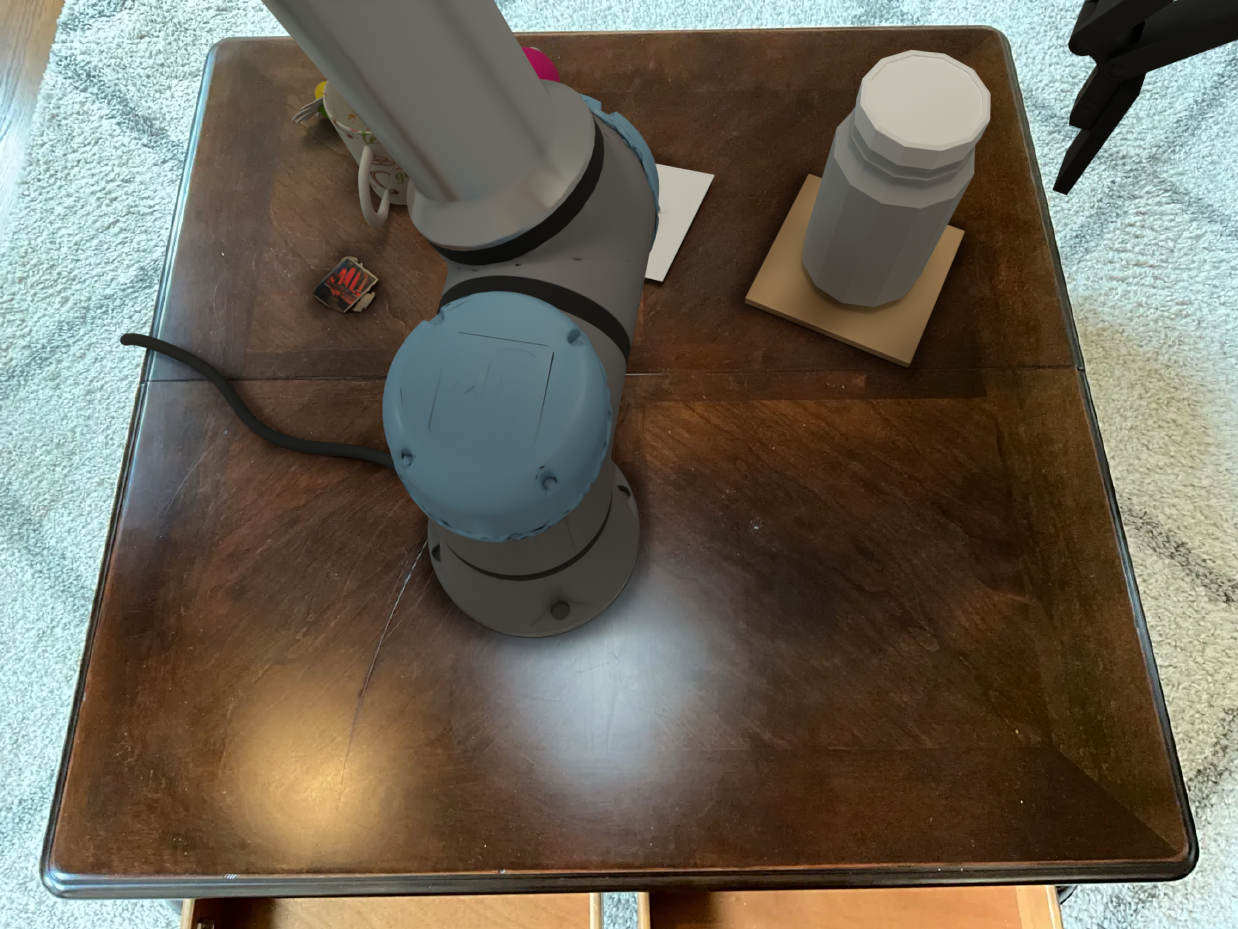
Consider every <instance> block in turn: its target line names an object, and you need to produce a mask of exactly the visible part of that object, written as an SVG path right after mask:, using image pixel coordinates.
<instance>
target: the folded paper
mask: <svg viewBox="0 0 1238 929" xmlns="http://www.w3.org/2000/svg"><path fill="white" fill-rule="evenodd" d="M655 164H656V167H657V171H658V177H659V200H658V201H659V212H658V217H659V224H658V230H657V235H656V238H655V241H654V244H653V247H652V250H651V252H650V254H649V259H648V264H647V269H646V275H645V279H652V280H655V281H659V282H663V281H664V279H665V277H666V275H667V273H668V271H669V269H670V267H671V265H672V263H673V261H674V259H675V256H676V254H678V251H679V248H680V246H681V244H682V242H683V240H684V239H685V237H686V235H687V233H688V230H689V228H690V226H691V225H692V223H693V220H694V218H695V217H696V214H697V212H698V210H699V208H700V206H701V204H702V202H703V200H704V198H705V196H706V194H707V192H708V190H709V187H710V186H711V184H712V181H713V179H714V177H715V174H711V173H706V172H701V171H697V170H691V169H685V168H680V167H675V166H669V165H665V164H659V163H655Z"/></svg>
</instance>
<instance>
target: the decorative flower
mask: <svg viewBox="0 0 1238 929" xmlns="http://www.w3.org/2000/svg"><path fill="white" fill-rule="evenodd" d="M326 82H327V80H325V81H324V80H323V81H321V82H320V83H318V84H317V85H316V88H315V90H314V97H315V100H313V101H312V102H309V103H307V104H305V105H304V106H302V107H301V108H300V109H299V110H300V111H299V112H297V113H296V114H295V115H294V116H293V117H292V118H291V122H295V123H296V125H298V124H300V123H301V122H303V121H304V122H307V121H309V120H311V118H314V117H316V119H320V118H322V117H324V118H326V119H327V120H328V121H329V120H330V118H329V117H328V115H327V113H326V110H325V107H324V103H323V91H324V87H325V84H326ZM330 121H331V120H330Z"/></svg>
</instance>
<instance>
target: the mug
mask: <svg viewBox="0 0 1238 929" xmlns="http://www.w3.org/2000/svg"><path fill="white" fill-rule="evenodd" d="M326 81H327V82H326V84H325V87H324V91H323V103H324V107H325V110H326V113H327V115H328V117H329V118H330V122H331V124H332V125H333V127H334V128H335V130H336V132H337V133H338V135H339V137H340V138H341V140H342V141H343V143H344V144H345V146H346V148H347V149H348V151H349V152H350V154H351V156H352V158H353V159H354V161H355V162H356V164H357V165H358V167H359V168H358V175H357V178H358V179H357V182H358V196H359V202H360V207H361V211H362V215H363V218H364V220H365V221H366V222H367V224H368V225H369V226H370V227H371V228H374V229H378V228H380V227H381V226H382V225H383V224H384V223H385V222H386V221H387V219H388V217H389V211H390V204H392V205H398V206H407V188H408V182H409V179H410V178H409V176H408V175H407V174H406V173H405V172H404V170H403V169H402V168H401V167H400V166H399V165H398V163H397V162H396V161H395V160H394V159H393V157H392V156H391V155H390V154H389V153H388V151H387V150H386V149H385V148H384V147H383V145H382V144H381V143H380V142H379V141H378V139H377V138H376V137H375V136H374V135H373V134H372V132H371V131H370V130H369V129H368V128H367V126H366V125H365V124H364V123H363V122H362V120H361V119H360V118H359V117H358V116H357V114H356V113H355V112H354V111H353V110H352V109H351V107H350V106H349V105H348V104H347V103H346V101H345V100H344V99H343V98H342V97H341V95H340V94H339V93H338V92H337V91H336V89H335V88H334V87H333V86H332V85H331V83H330V82H329V81H328V80H327V79H326ZM370 187H372V190H373V191H374V192H375V194H377V196H378V197H379V198H380V199H381V201H380V205H379V207H378V211H377V212H376V211H375V210H374V207H373V204H372V199H371V190H370Z"/></svg>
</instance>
